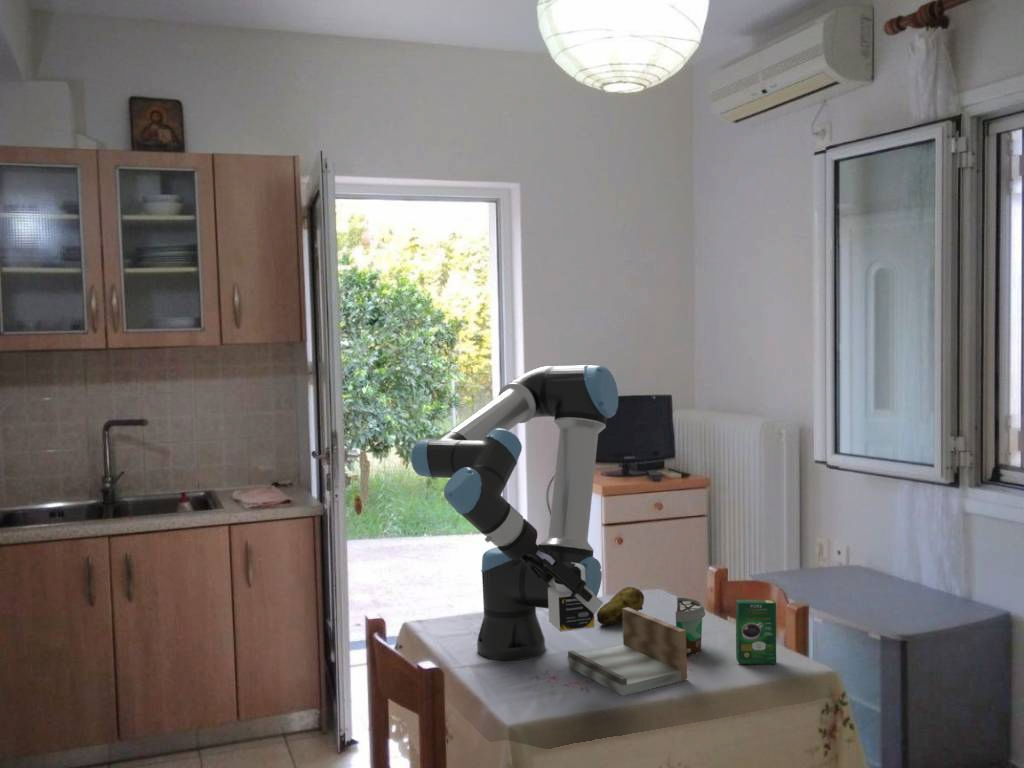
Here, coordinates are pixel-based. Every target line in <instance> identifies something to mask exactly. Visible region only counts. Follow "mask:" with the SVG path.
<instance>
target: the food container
mask: <svg viewBox="0 0 1024 768" xmlns="http://www.w3.org/2000/svg"><path fill="white" fill-rule="evenodd" d="M676 603H677V606H676V611H675V626H676V627H679V628H681V629H684V630H686V653H687V655H691V656H693V655H692V654H695V655H697V654H696V653H698V652H699V653H700V652H701V651H702V632H703V630H702V629H703V618H704V617H705V616H706V611H705V607H704V606H703V603H702V602H701V601H700V600H697V599H694V598H688V597H679V596H678V597H676ZM699 653H698V654H699Z"/></svg>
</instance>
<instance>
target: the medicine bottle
mask: <svg viewBox="0 0 1024 768" xmlns="http://www.w3.org/2000/svg"><path fill="white" fill-rule="evenodd" d="M564 564H565V565H566V566H567V567H568V568H569V569H570V570H572V571H573V572H574V573H575V574H576V575H577V576H579V577H580V578H581V579H582V580H584V581H585V567H584V566H583V565H581V564H578V563H564ZM554 583H555V586H553V587H548V607H549V609H548V622H549V623H550V624H551V625H552V626H554V628H555V629H557V630H558V631H559V632H562V633H564V632H571V631H577V630H587V629H594V628H595V614H593V613H592V612H591V611H590V610H589V609H588V608H587V607H586V606H585V605H583V604H582V603H581V602H580V601H579V600H578V599H577V598H576V597H575V596H574V597H572V596H570V595H571V594H572V591H570V590H569V589H568V588H567V587H565V586H564V585H563V584H562V583H560V582H559V581H558V580H557V579H555V578H554ZM590 591H591V590H590ZM591 592H592V591H591ZM592 593H593V592H592Z"/></svg>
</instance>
